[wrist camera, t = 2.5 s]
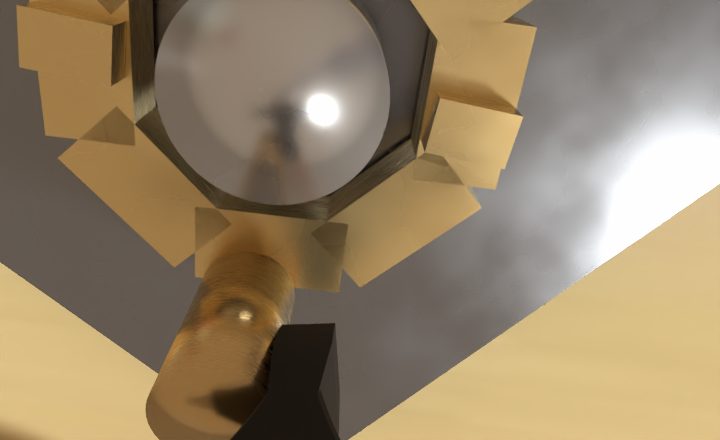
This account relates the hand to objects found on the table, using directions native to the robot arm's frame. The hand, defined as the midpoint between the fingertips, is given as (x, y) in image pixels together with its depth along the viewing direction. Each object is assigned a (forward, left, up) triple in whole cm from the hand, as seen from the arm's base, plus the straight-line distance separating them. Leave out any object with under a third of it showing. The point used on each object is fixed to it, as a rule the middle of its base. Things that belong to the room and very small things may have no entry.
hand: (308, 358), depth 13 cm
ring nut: (-4, -5, -3) cm, 7 cm away
